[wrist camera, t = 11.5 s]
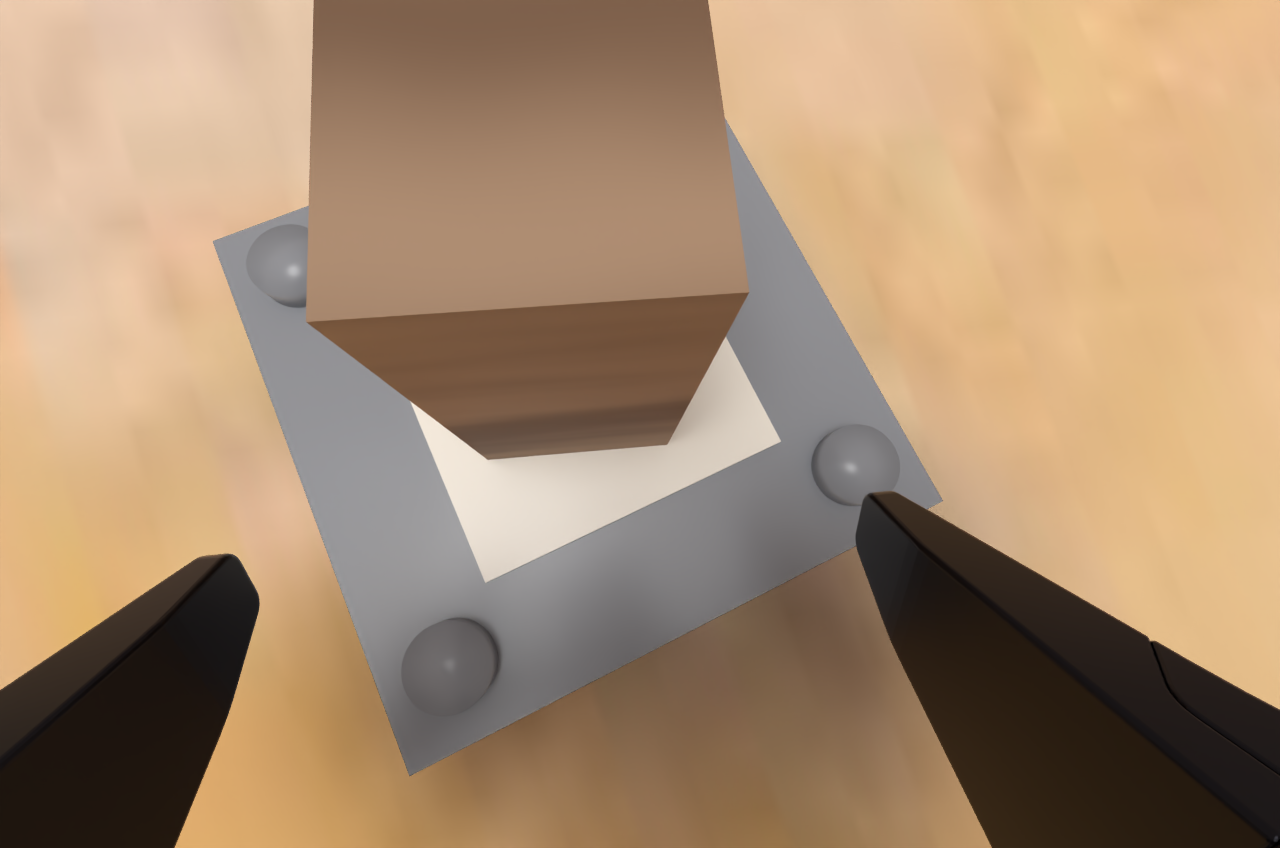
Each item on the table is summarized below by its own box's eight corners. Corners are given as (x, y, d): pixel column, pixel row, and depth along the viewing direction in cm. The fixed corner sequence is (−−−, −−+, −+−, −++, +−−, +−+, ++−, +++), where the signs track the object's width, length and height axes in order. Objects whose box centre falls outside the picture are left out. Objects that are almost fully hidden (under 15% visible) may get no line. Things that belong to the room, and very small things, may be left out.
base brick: (886, 509, 20) (959, 498, 16) (447, 733, 18) (398, 789, 14) (681, 135, 23) (697, 43, 19) (277, 292, 21) (194, 226, 17)
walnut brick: (666, 444, 17) (749, 291, 7) (487, 459, 16) (305, 321, 7) (650, 280, 18) (699, -55, 8) (480, 291, 17) (314, -44, 8)
